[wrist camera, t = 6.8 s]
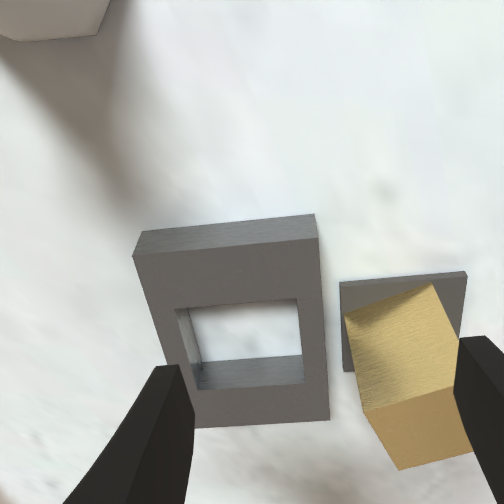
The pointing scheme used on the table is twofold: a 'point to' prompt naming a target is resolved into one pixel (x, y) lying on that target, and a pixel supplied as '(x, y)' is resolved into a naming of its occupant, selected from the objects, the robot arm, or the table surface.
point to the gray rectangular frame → (232, 292)
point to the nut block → (408, 376)
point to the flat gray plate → (374, 290)
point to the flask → (50, 18)
